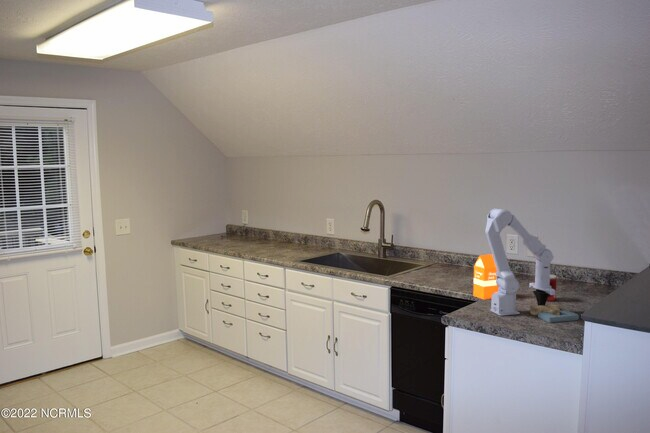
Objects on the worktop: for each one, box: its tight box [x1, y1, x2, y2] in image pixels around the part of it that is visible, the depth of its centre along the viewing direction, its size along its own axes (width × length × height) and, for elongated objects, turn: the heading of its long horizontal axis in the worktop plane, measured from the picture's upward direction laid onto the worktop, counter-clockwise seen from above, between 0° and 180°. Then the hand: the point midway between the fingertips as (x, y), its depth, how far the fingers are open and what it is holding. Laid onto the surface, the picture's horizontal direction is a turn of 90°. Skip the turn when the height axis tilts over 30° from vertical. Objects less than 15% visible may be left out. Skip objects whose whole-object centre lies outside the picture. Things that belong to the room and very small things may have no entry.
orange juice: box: [473, 253, 499, 300], centre depth 250 cm, size 8×9×20 cm
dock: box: [537, 309, 580, 323], centre depth 215 cm, size 13×7×2 cm, turn 104°
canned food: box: [546, 274, 557, 302], centre depth 245 cm, size 8×8×11 cm
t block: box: [529, 303, 561, 316], centre depth 221 cm, size 12×8×3 cm, turn 105°
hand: (541, 307), depth 226 cm, fingers closed
